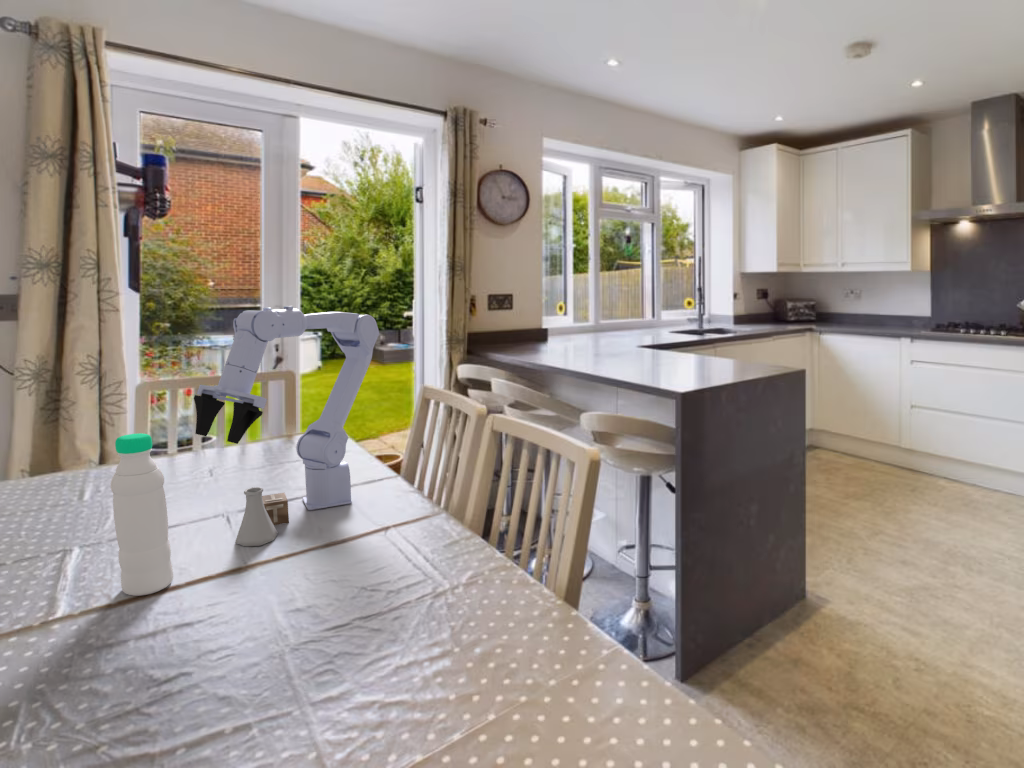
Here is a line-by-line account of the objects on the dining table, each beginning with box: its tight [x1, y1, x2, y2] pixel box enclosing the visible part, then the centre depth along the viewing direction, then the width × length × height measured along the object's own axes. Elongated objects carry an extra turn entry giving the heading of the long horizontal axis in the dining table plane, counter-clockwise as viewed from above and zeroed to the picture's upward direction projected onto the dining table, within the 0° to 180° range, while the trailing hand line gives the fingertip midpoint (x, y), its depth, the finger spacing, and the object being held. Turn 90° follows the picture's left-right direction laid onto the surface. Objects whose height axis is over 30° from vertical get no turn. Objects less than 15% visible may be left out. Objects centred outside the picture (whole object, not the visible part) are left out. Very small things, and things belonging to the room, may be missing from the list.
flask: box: [234, 486, 279, 547], centre depth 109 cm, size 7×7×10 cm
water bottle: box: [110, 432, 174, 597], centre depth 90 cm, size 7×7×25 cm
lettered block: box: [262, 492, 290, 526], centre depth 118 cm, size 5×5×5 cm
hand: (216, 438), depth 105 cm, fingers open, 7 cm apart
